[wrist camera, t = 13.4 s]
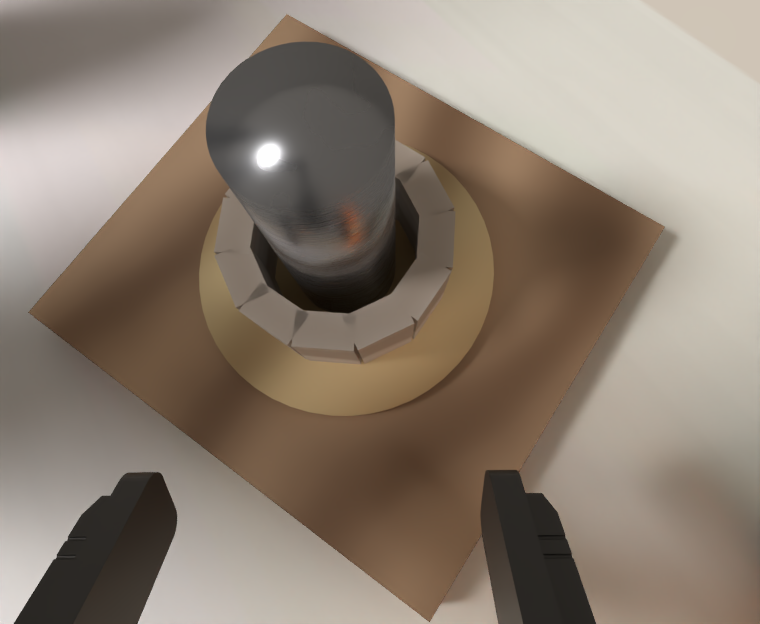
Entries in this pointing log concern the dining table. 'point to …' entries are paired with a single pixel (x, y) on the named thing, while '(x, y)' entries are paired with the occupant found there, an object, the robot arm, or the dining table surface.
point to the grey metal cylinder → (313, 166)
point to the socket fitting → (362, 332)
